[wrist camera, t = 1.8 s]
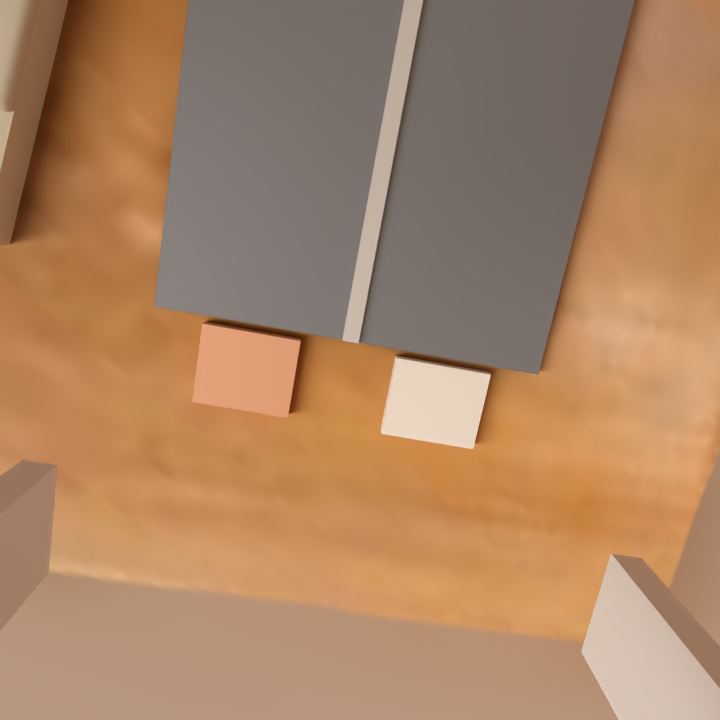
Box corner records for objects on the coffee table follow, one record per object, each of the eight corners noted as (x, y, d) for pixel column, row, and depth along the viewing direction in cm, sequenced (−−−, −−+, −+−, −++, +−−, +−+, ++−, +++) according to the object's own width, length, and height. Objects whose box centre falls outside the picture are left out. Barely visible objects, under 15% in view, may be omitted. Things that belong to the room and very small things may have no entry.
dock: (147, 390, 38) (143, 394, 37) (207, -141, 32) (203, -151, 31) (514, 452, 40) (518, 457, 39) (641, -43, 33) (649, -50, 33)
